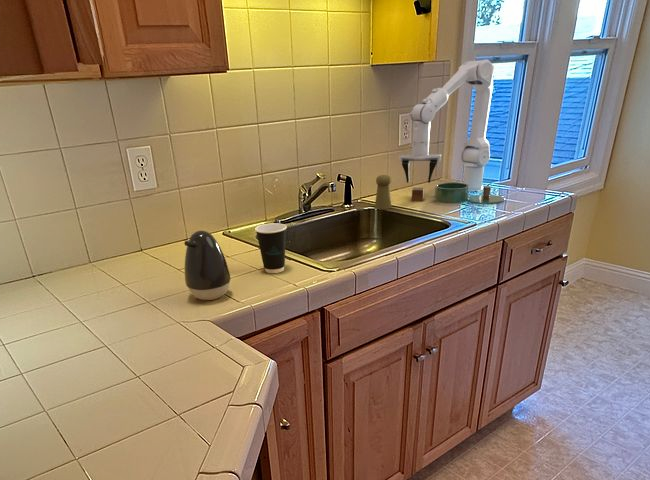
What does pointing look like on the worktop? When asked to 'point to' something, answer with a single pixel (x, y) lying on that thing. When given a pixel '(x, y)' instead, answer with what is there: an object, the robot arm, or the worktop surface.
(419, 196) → the block
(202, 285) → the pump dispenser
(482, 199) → the lid
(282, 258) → the dixie cup
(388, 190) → the beige peg figure
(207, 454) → the worktop surface
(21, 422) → the worktop surface
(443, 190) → the green pot
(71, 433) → the worktop surface
